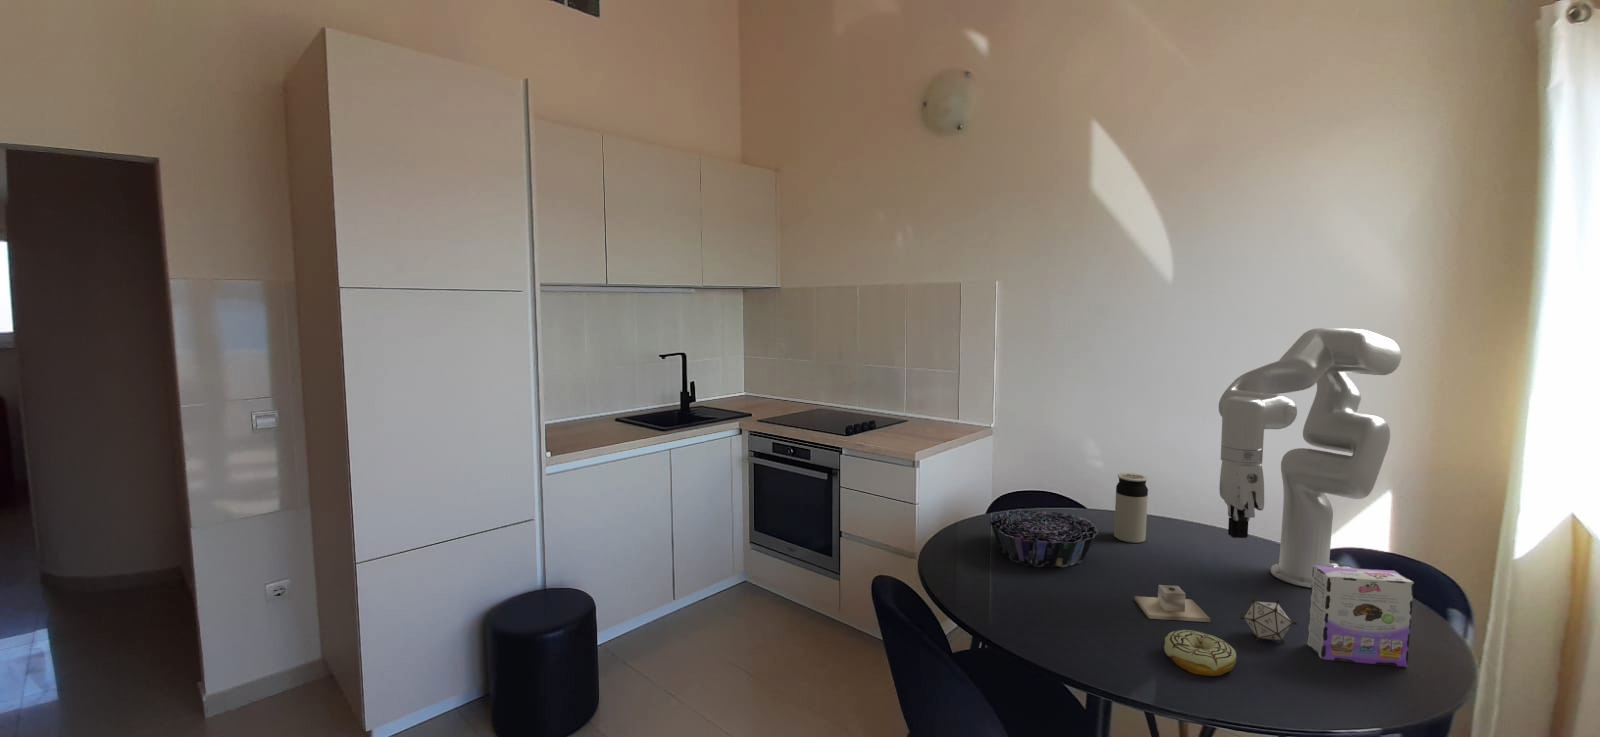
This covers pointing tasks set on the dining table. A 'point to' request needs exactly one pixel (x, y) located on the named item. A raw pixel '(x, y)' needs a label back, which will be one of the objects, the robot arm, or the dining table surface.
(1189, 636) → the decorated donut
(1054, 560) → the decorative bowl
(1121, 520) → the travel mug
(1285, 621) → the game die
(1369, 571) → the candy box
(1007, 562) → the dining table surface
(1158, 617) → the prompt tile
